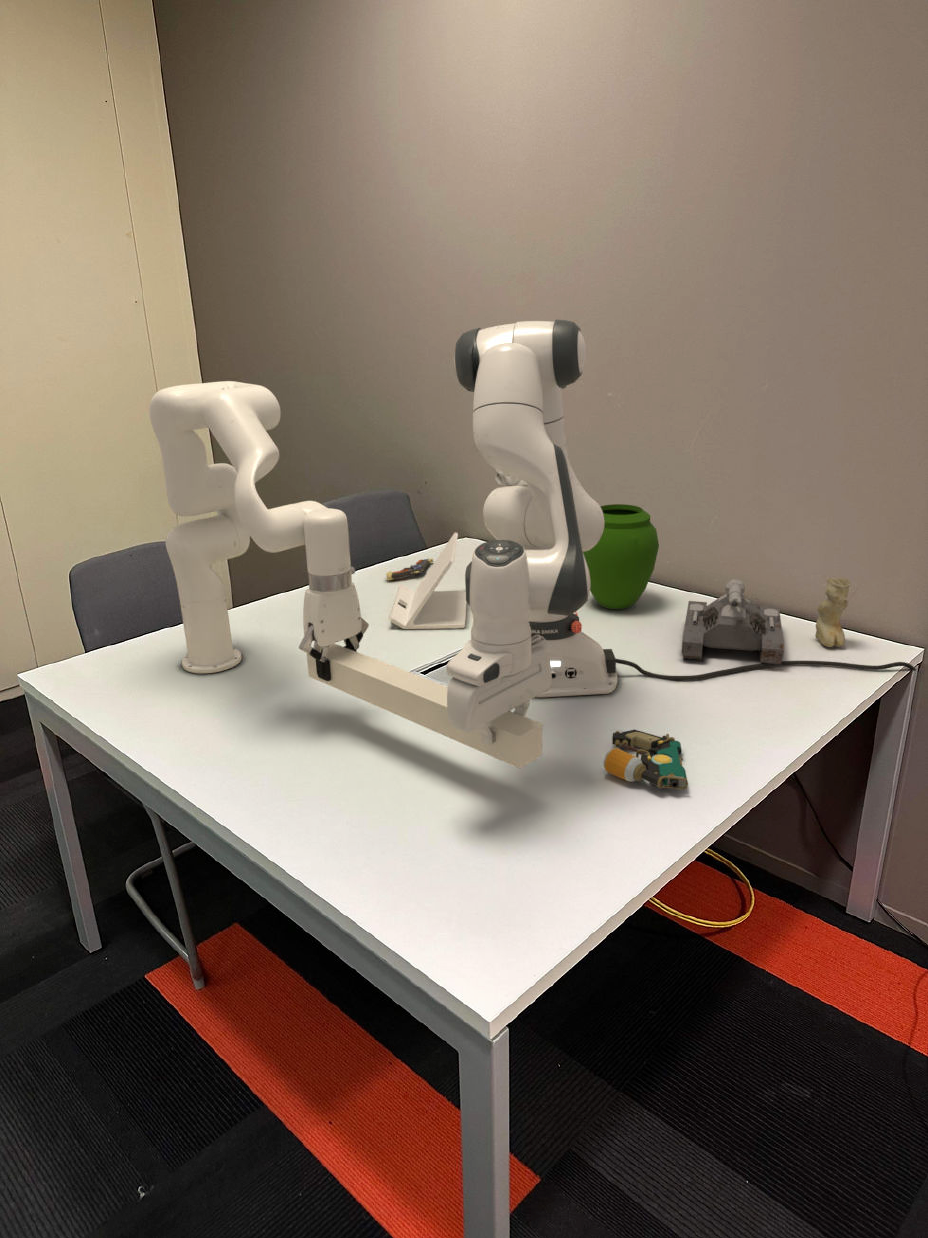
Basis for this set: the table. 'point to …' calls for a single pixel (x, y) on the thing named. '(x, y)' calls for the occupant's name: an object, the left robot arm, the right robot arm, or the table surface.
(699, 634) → the toy
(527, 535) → the right robot arm
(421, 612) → the tablet stand
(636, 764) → the spray gun
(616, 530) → the vase
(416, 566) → the toy gun
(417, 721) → the beam
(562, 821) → the table surface
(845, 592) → the sculpture
